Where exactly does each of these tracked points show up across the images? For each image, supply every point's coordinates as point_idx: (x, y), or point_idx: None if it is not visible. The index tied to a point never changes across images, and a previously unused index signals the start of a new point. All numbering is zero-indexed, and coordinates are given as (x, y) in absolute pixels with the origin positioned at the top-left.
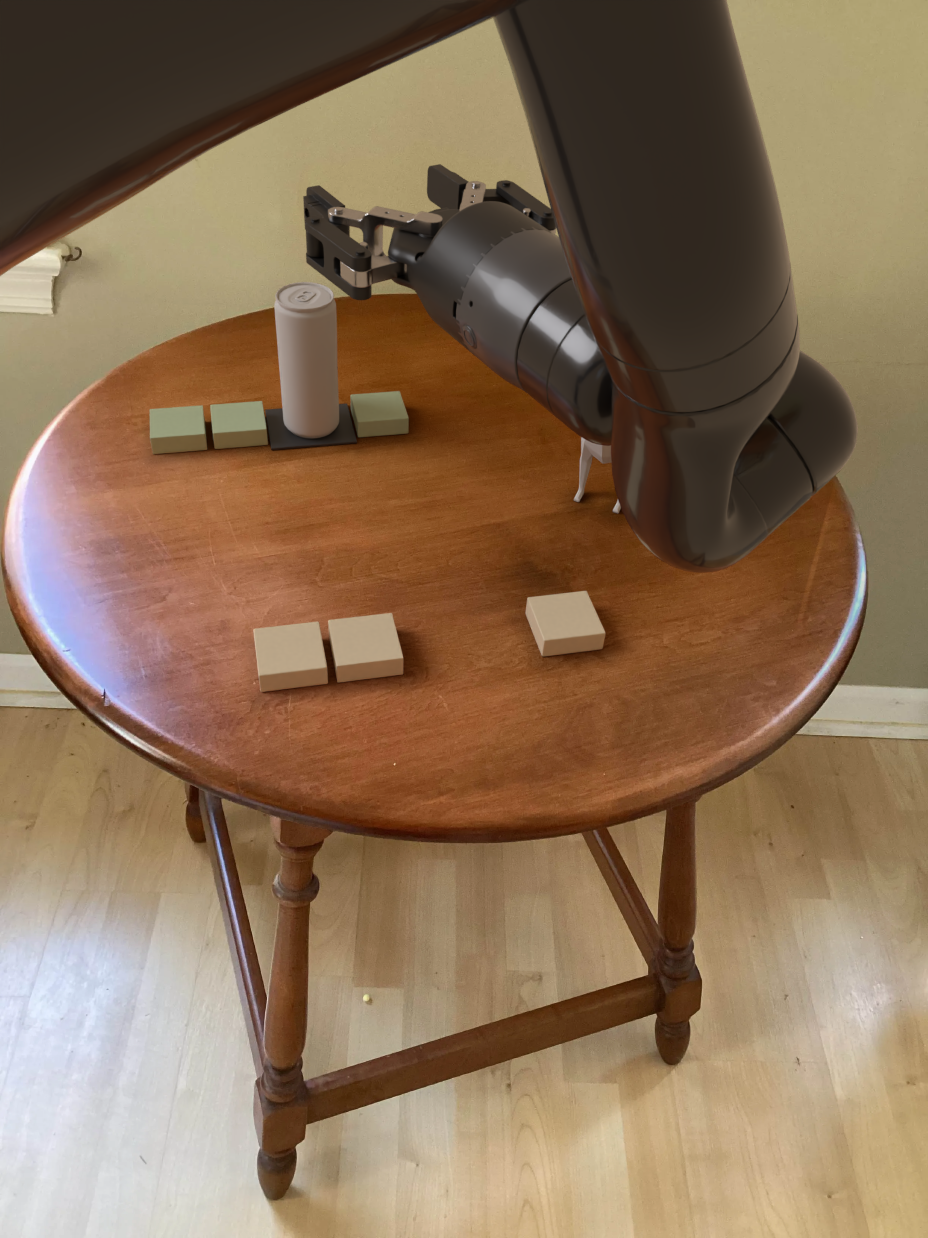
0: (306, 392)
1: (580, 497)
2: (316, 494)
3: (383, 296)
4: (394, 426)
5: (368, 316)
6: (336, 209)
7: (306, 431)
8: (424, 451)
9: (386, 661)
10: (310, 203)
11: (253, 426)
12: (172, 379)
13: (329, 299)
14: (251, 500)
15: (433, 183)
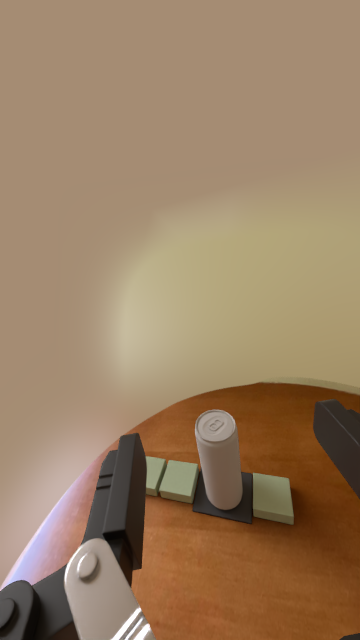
0: (214, 486)
1: None
2: (206, 591)
3: (286, 384)
4: (281, 518)
5: (276, 397)
6: (78, 570)
7: (216, 505)
8: (306, 558)
9: None
10: (103, 476)
11: (184, 490)
12: (166, 426)
13: (231, 432)
14: (159, 576)
15: (325, 428)
